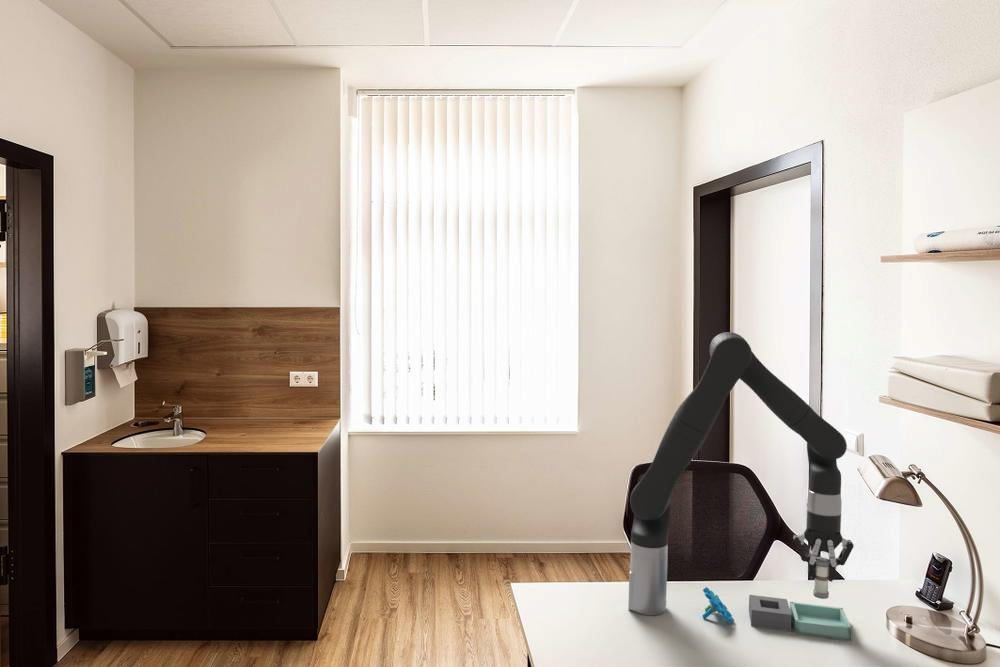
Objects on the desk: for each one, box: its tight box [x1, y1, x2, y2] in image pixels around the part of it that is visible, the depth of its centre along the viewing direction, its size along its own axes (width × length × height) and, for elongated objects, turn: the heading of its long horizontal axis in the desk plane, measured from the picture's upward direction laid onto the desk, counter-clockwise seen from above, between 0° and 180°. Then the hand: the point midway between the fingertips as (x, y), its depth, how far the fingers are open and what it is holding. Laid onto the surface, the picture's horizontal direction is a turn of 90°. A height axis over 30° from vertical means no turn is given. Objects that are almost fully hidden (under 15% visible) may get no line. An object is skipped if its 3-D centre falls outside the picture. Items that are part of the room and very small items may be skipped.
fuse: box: [812, 556, 830, 600], centre depth 173 cm, size 3×3×9 cm
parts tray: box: [789, 601, 853, 642], centre depth 174 cm, size 12×11×3 cm
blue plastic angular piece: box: [701, 586, 735, 624], centre depth 177 cm, size 11×6×10 cm
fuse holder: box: [748, 594, 792, 632], centre depth 177 cm, size 9×9×4 cm
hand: (821, 579), depth 173 cm, fingers closed on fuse, 3 cm apart
